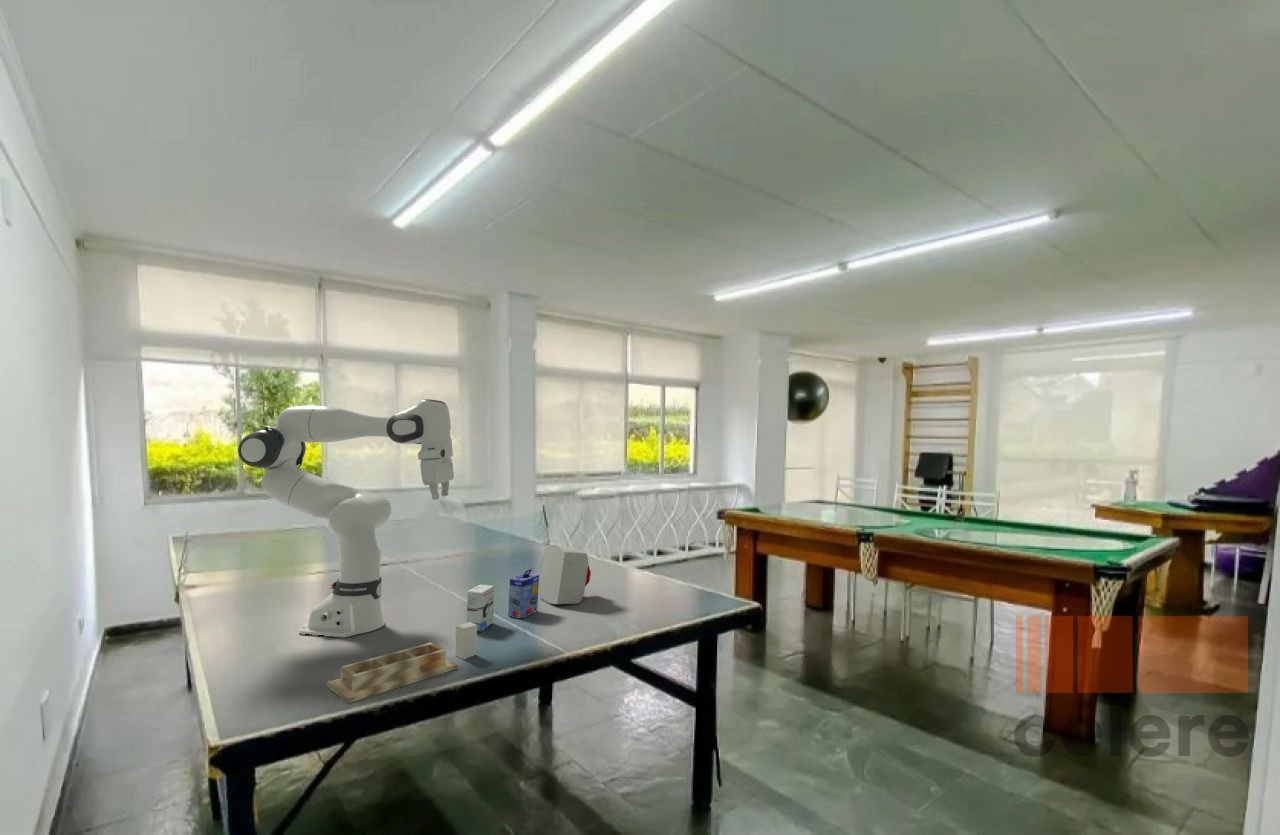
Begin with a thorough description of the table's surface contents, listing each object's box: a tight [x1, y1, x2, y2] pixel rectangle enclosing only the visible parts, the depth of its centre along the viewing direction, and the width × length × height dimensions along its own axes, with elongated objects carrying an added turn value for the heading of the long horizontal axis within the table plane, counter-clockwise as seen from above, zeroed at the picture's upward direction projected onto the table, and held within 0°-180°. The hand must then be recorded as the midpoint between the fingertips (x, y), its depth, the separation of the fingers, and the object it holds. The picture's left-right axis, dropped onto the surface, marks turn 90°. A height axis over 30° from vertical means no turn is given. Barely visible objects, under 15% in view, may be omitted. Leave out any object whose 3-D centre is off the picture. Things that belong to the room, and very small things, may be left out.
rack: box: [326, 642, 458, 704], centre depth 137 cm, size 26×12×4 cm, turn 138°
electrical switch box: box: [538, 544, 591, 605], centre depth 206 cm, size 15×15×20 cm
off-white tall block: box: [455, 622, 478, 660], centre depth 152 cm, size 4×4×8 cm
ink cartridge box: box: [507, 568, 540, 619], centre depth 188 cm, size 10×6×14 cm, turn 158°
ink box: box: [466, 584, 495, 632], centre depth 174 cm, size 8×5×12 cm, turn 168°
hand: (440, 497), depth 175 cm, fingers open, 8 cm apart
